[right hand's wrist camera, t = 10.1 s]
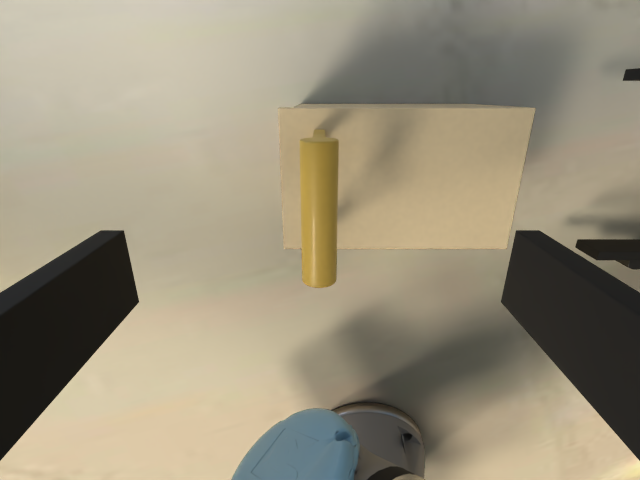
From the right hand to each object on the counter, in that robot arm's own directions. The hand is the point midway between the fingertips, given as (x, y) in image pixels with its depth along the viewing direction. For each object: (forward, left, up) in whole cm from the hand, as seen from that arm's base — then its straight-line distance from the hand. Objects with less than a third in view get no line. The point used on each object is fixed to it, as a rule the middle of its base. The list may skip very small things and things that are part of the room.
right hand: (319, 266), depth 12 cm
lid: (+3, -4, -14) cm, 15 cm away
